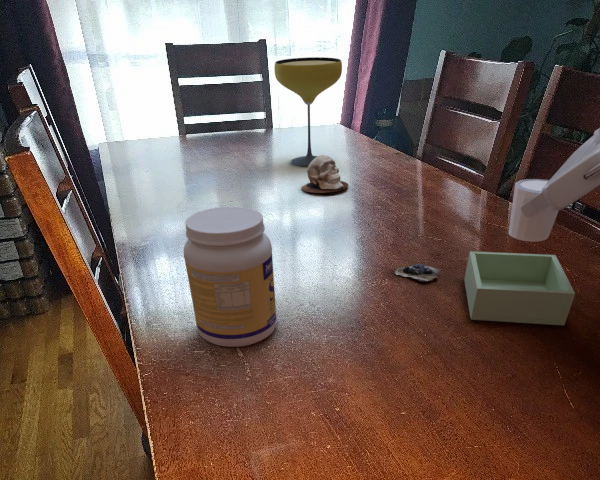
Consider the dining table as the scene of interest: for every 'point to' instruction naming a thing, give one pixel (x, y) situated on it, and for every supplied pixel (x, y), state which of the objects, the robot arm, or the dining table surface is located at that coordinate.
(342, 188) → the skull
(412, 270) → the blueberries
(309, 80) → the cocktail glass
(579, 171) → the robot arm
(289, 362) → the dining table surface
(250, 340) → the supplement tub
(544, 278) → the bin
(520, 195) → the white cylinder
